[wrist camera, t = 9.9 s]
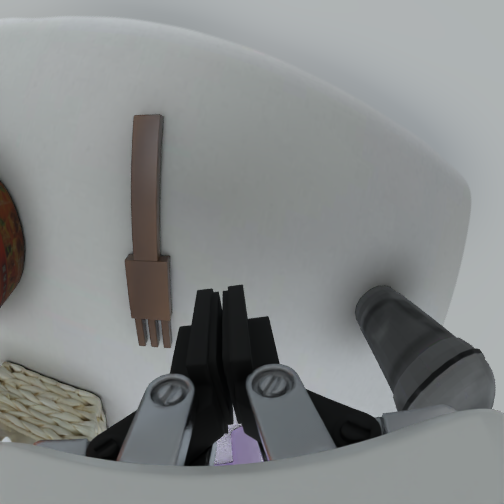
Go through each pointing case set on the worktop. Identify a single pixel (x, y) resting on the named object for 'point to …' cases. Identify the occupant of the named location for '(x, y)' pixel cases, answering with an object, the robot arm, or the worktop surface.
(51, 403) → the basket
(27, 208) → the worktop surface
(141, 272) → the salad fork
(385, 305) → the beverage cup
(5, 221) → the food container
